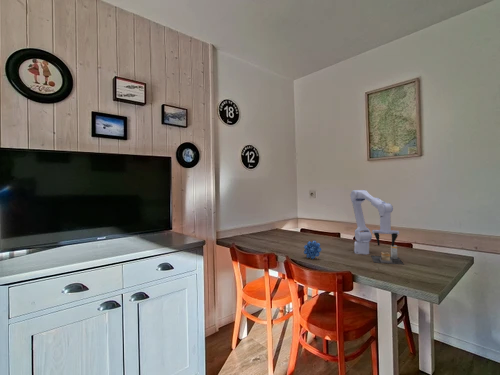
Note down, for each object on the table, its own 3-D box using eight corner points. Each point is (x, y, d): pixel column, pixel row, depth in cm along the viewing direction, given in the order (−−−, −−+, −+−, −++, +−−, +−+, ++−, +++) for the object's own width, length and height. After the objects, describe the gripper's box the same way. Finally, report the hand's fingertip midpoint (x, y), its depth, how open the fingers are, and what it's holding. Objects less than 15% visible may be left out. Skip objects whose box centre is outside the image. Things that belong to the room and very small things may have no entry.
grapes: (323, 258, 172) (322, 239, 171) (320, 260, 166) (320, 241, 165) (305, 256, 177) (305, 238, 177) (302, 258, 171) (302, 240, 171)
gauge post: (391, 258, 164) (391, 246, 164) (390, 257, 167) (390, 244, 167) (397, 259, 163) (397, 246, 163) (396, 257, 166) (396, 245, 166)
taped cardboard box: (382, 261, 158) (382, 253, 158) (381, 259, 162) (381, 251, 162) (390, 262, 157) (389, 253, 157) (388, 260, 161) (388, 252, 161)
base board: (374, 264, 157) (374, 260, 157) (370, 257, 172) (370, 254, 172) (404, 266, 152) (404, 263, 152) (398, 259, 167) (398, 255, 167)
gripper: (373, 223, 158) (373, 246, 158) (400, 224, 153) (400, 247, 153) (371, 222, 164) (371, 243, 164) (397, 222, 160) (397, 245, 160)
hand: (385, 245), depth 159 cm, fingers open, 7 cm apart
